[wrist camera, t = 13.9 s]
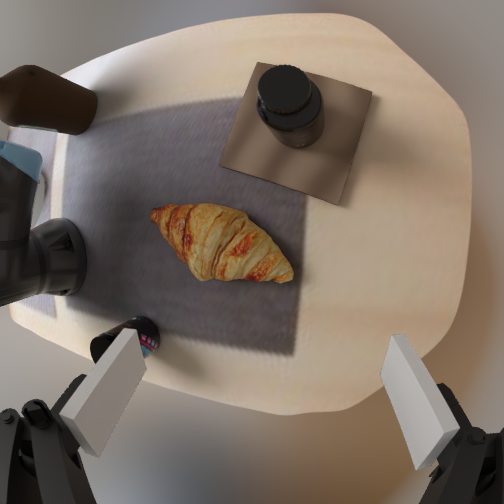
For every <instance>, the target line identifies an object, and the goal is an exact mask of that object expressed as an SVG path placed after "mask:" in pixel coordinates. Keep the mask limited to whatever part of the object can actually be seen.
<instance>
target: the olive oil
mask: <svg viewBox="0 0 504 504" xmlns="http://www.w3.org/2000/svg"><path fill="white" fill-rule="evenodd" d="M96 109H97V97H96V94H95V93H94V92H93V91H91V90H89V89H87V88H84V87H82V86H80V85H78V84H75V83H73V82H71V81H69V80H67V79H65V78H63V77H60V76H58V75H56V74H54V73H52V72H50V71H48V70H45V69H43V68H41V67H39V66H36V65H24V66H20V67H18V68H16V69H14V70H13V71H11V72H9V73H7V74H6V75H4V76H3V77H1V78H0V120H1V121H2V122H4V123H5V124H7V125H9V126H13V127H21V128H30V129H38V130H46V131H53V132H59V133H65V134H70V135H78V134H80V133H82V132H83V131H84V130H86V129H87V127H88V126H89V125H90V123H91V122H92V120H93V118H94V116H95V113H96Z"/></svg>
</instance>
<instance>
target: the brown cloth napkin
mask: <svg viewBox="0 0 504 504" xmlns="http://www.w3.org/2000/svg"><path fill="white" fill-rule="evenodd" d="M274 66H277V65H272V64H266V63H260V62H257V64H256V67H255V69H254V72H253V74H252V77H251V79H250V82H249V84H248V87H247V89H246V92H245V94H244V97H243V100H242V102H241V105H240V107H239V110H238V113H237V115H236V118H235V121H234V124H233V126H232V129H231V132H230V135H229V137H228V140H227V143H226V146H225V149H224V152H223V155H222V158H221V160H220V163H219V166H222V167H225V168H228V169H232V170H235V171H238V172H242V173H245V174H248V175H251V176H254V177H258V178H261V179H264V180H267V181H270V182H273V183H276V184H279V185H282V186H285V187H288V188H291V189H294V190H297V191H299V192H302V193H305V194H308V195H311V196H314V197H316V198H319V199H322V200H324V201H327V202H330V203H333V204H335V205H338V203H339V201H340V198H341V195H342V192H343V189H344V186H345V183H346V180H347V177H348V173H349V170H350V167H351V164H352V161H353V158H354V154H355V151H356V148H357V145H358V141H359V138H360V135H361V131H362V128H363V124H364V121H365V117H366V114H367V110H368V106H369V103H370V99H371V95H372V92H371V91H368V90H365V89H362V88H359V87H356V86H353V85H350V84H347V83H344V82H341V81H338V80H334V79H331V78H327V77H324V76H320V75H316V74H312V73H308V72H304V73H305V74H306V75H307V77H309V78H310V79H312V80H313V81H314V82H315V83H316V84H317V85H318V87H319V88H320V90H321V92H322V95H323V101H324V117H325V125H324V130H323V133H322V135H321V137H320V138H319V139H318V140H317V141H316V142H315V143H314V144H312V145H310V146H308V147H305V148H291V147H287V146H285V145H283V144H282V143H280V142H279V141H278V140H277V139H276V138H275V137H274V135H273V134H272V133H271V131H270V130H269V129H268V128H267V126H266V125H265V124H264V122H263V121H262V120H261V118H260V116H259V114H258V112H257V109H256V96H257V93H258V92H257V89H258V88H257V85H258V81H259V80H260V77H261V76H262V74H263V73H265V72H266V71H267V70H269V69H270V68H273V67H274Z"/></svg>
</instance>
